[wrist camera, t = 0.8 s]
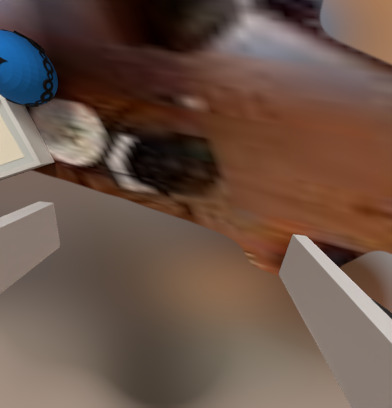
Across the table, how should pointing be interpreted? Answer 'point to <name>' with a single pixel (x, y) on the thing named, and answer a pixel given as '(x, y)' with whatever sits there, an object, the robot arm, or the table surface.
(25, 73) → the ornament
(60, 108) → the table surface
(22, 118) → the bin
